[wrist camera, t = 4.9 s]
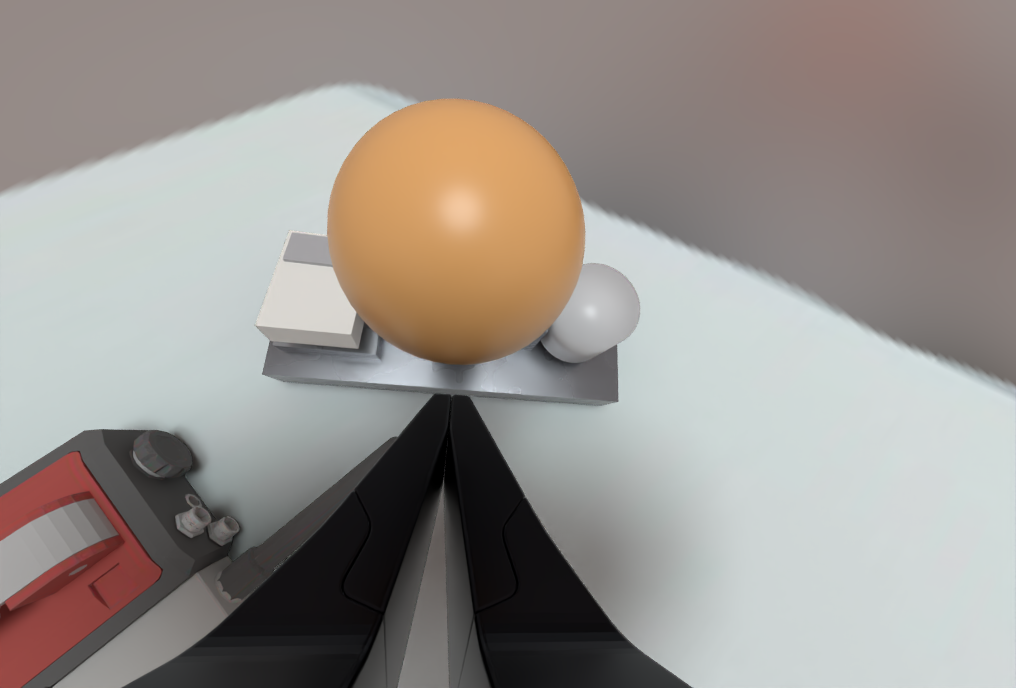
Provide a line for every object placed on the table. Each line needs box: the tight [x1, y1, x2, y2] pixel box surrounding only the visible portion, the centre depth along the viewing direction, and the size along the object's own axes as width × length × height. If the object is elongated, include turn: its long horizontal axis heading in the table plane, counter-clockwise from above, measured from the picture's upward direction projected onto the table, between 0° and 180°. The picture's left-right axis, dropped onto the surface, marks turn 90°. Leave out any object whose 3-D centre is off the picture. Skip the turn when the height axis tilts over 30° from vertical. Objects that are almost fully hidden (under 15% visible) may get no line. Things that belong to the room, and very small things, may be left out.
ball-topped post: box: [327, 99, 585, 365], centre depth 9 cm, size 3×4×13 cm
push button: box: [541, 263, 640, 363], centre depth 15 cm, size 3×3×3 cm
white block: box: [255, 230, 364, 349], centre depth 13 cm, size 4×3×1 cm
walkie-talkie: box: [0, 429, 397, 688], centre depth 13 cm, size 9×4×20 cm
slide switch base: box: [262, 322, 618, 406], centre depth 16 cm, size 6×15×5 cm, turn 86°
